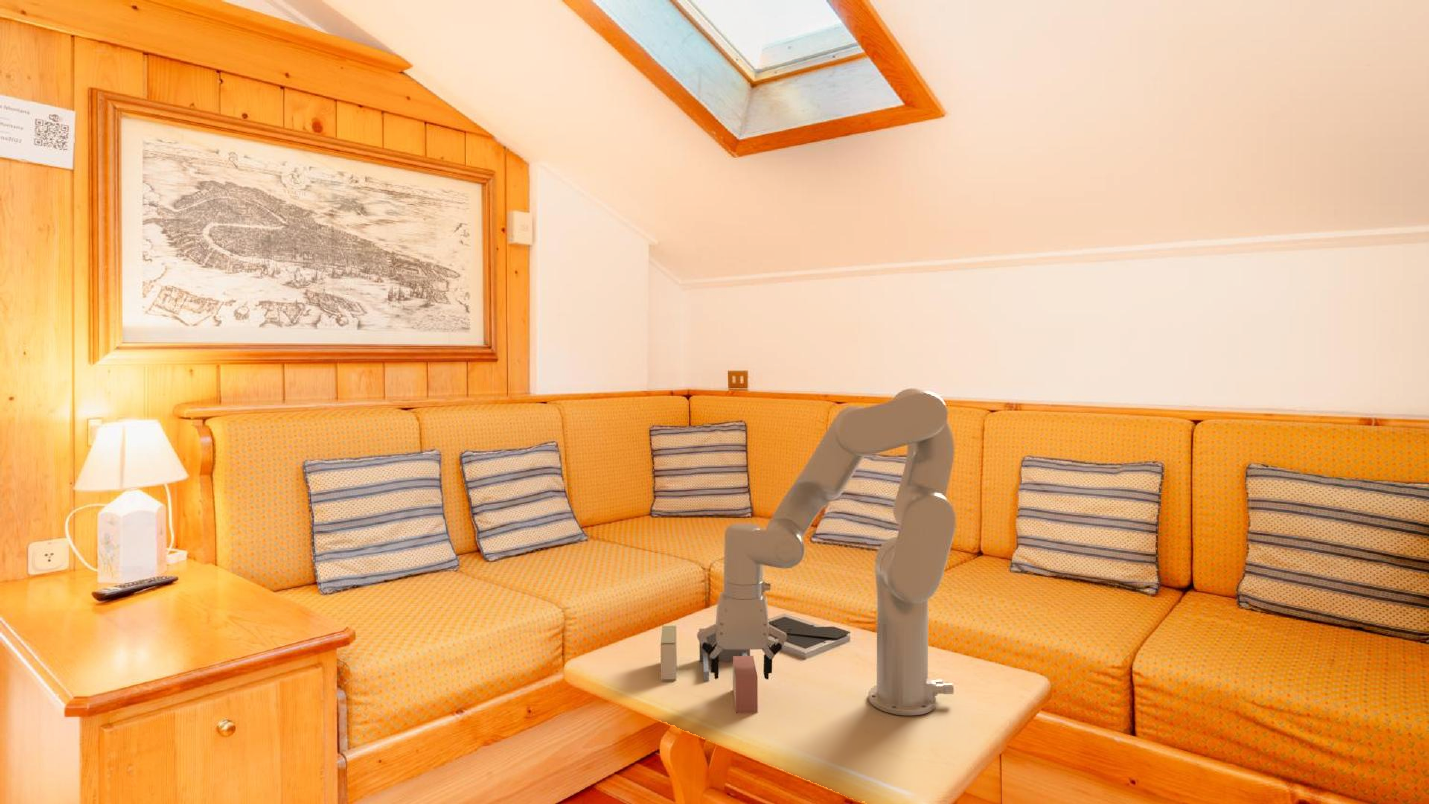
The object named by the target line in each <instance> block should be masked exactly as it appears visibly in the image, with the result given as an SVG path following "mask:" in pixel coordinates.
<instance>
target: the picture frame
mask: <svg viewBox="0 0 1429 804" xmlns="http://www.w3.org/2000/svg"><path fill="white" fill-rule="evenodd" d="M768 620H769V624H770V625H771V626H773V627H775V628H777V629H779V630H781V631H783V632H785V633H786V634H787V639H786V641H785V643H784V645H783V646H782V649H781V650H780V651H782V652H784V653H788V654H790V655H793V656H796V657H799V658H801V659H804V660H807V659H809V658H812V657H815V656H817V655H820V654H822V653H825V652H827V651H830V650H832V649H834V648H837V647H840V646H841V645H845V644H846V643H850V642H851V631H850V630H845V629H842V628H839V627H836V626H832V625H831V626H824V625H822V624H821V625H820V624H817V623H815V622H812V621H808V620H805V619H803V618H800V617H797V616H796V617H795V616H793V615H790V614H786V613H783V614H780V615H777V616H774V617H771V618H768ZM777 639H778V637H776V636H774V635H772V634H770V633H769V643H768V644H769V646H770V647H771V646H772V645H773V644H774V643H775V642H776V641H777Z"/></svg>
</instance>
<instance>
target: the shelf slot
mask: <svg viewBox="0 0 1429 804" xmlns="http://www.w3.org/2000/svg"><path fill="white" fill-rule="evenodd" d="M706 628H707V627H706ZM706 628H699V631H698V632H700V631H702V630H704V629H706ZM706 640H707V642H708V643H709V644H710V645H711V646H713V645H714V644H715V642H716V637H715V633H714V634H712V635H710V636H708V637H706ZM698 647H699V663H702V665H703V670H702V671H703V681H704V682H710V674H709V673H710V672H709V671H710V670H709V668H710V667H709V663H711V657H710V655H709V654H708V653H707V652H706V651H705V650H704V649H703V648H702V646H701V644H700V642H699V646H698ZM718 656H719V663H725V662H733V656H751V650H744V649H723V650H722V651H721V652H720V653H719V654H718Z"/></svg>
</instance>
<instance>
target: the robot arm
mask: <svg viewBox="0 0 1429 804" xmlns="http://www.w3.org/2000/svg"><path fill="white" fill-rule="evenodd" d="M948 415H949V413H948V408H947V405H946V403H945V401H944V400H943V399H942V398H941V396H939V395H938V394H936V393H934V392H931V391H929V390H926V389H925V390H923V389H922V388H911V387H910V388H905V389H903V390H901V391H900V392H898V393H897V394H896V395H895V396H894V397H893V399H892V400H889V401H885V402H882V403H877V404H874V405H870V406H867V407H866V406H865V407H862V406H860V405H859V406H857V405H855V406H854V405H852V406H847V407H845V408H843V409H841V410H840V411H839V412H838V413H837V414H836V416H835V417H834V419H833V420H832V422H831V424H830V425H829V427H828V429H827V430H826V432H825V433H824V435H823V436H822V438H821V440H820V442H819V443H818V445H817V446H816V448H815V450H814V452H813V453H812V455H811V457H810V458H809V459H808V462H807V463H806V464H805V465H804V468H803V469H802V471H801V472H800V474H799V475H798V476H797V478H796V479H795V480H794V482H793V484H792V486H791V487H790V488H789V490H788V491H787V493H786V494H785V496H784V497H783V498H782V500H781V502H780V503H779V505H778V507H777V508H776V510H775V512H774V513H773V515H772V516H771V518H770V519H769V522H768V523H767V525H766V527H765V529H763V528H762V527H761V526H759V525H758V524H755V523H747V522H742V523H741V522H739V523H738V522H737V523H733V524H730V525H728V526H727V527H726V528H725V531H724V546H723V547H724V548H723V549H724V551H723V552H724V556H723V557H724V558H723V592H720V593H719V594H718V595H719V596H718V599H717V600H718V601H717V606H716V615H715V616H716V617H715V623H714V624H712V625H709V626H707V627H706V629H705V628H703V629H704V630H702V631H700V632H699V631H697V633H696V637H697V640H698V641H699V642H700V644H701V646H702V648H703V649H704V650H705V651H706V652H707V653H708V654H709V655H710V657H711V662H710V673H711V674H713V675H714V679H715V680H718V679H719V669H720V667H719V666H720V665H719V664H720V662H719V656H718V654H719V653H720V652H721V651H722V650H723V649H744V650H750V651H751V650H753V651H754V650H761V651H762V652H763V653H764V654H763V677H764V679H765V680H769V677H770V676H769V674H773V659H774V658H775V656H776V655H777V654H778V653H779V652H780V651H782V650H781V649H782V646H783V645H784V643H785V641H786V639H787V634H786V633H785V632H783V631H781V630H779V629H777V628H775V627H773V626H771V625H770V624H769V620H768V619H769V610H768V600H767V595H766V593H765V592H767V591H771V583H770V582H768V583H767V582H765V581H764V566H766V567H770V568H771V567H772V568H777V569H785V570H786V569H792V568H795V567H797V566H798V565H800V563H801V562H802V561H803V560H804V557H805V554H806V544H805V542H804V541H805V540H804V537H805V535H807V532H808V530H809V528H810V527H811V525H812V523H813V522H814V520H815V519H816V518H817V516H818V515H819V514H820V512H821V511H822V510H823V509H824V508H825V507H826V506H827V505H828V504H830V503H831V502H833V501H835V500H837V498H839V497H840V496H841V495H842V494H843V493H844V491H845V489H846V488H847V486H848V484H849V482H851V480H852V478H853V476H854V475H855V472H857V469H858V468H859V466H860V464H861V463H862V461H863V460H864V458H865V457H866V456H871V455H874V454H875V455H876V454H880V453H884V452H888V451H892V450H894V449H895V450H896V449H897V448H901V447H905V446H907V451H906V458H905V462H904V468H903V471H902V475H901V479H900V481H899V487H898V488H897V489H898V491H897V493H896V496H895V499H894V502H893V506H892V507H893V510H892V511H893V512H892V513H893V517H894V519H895V521H896V522H897V524H898V525H899V527H898V528H899V529H898V533H897V536H894V537H891V538H888V539H887V540H885V541H884V542H883V543H882V544H881V545H880V546H879V548H878V549H877V552H876V556H875V561H874V572H875V575H874V576H875V586H876V612H877V613H876V685H874V686H873V687H871V688H870V689H869V691H868V701H869V702H870V704H871V705H873V707H874V708H876V709H878V710H880V711H882V712H885V713H889V714H892V715H898V716H912V717H913V716H919V715H924V714H928V713H930V712H931V711H933V710H934V709H935V708H936V706H937V698H936V697H937V696H938V695H939V694H940V695H941V694H942V695H954V685H953V683H950V682H949V683H943V680H942V679H930V678H929V675H928V674H929V599H931V598H932V597H933V596H934V595H935V594H936V592H937V591H938V589H939V587H940V585H941V582H942V580H943V576H944V573H945V569H946V566H947V562H948V559H949V555H950V552H951V548H952V543H953V542H954V541H953V540H954V537H955V532H956V525H957V523H956V521H957V519H956V518H957V517H956V512H955V509H954V507H953V505H952V503H951V502H950V501H949V499H948V498H947V493H948V492H947V491H948V487H949V483H950V479H951V474H952V469H953V465H954V458H955V441H954V436H953V432H952V430H951V425H950V423H949V422H948V418H949V417H948ZM714 633H715V637H716V642H715V644H714V645H713V646H711V645H710V644H709V643H708V642H707V640H706V637H708V636H710V635H712V634H714ZM769 633H770V634H772V635H774V636H776V637H778V639H777V641H776V642H775V643H774V644H773V645H772V646H769V644H768V643H769Z"/></svg>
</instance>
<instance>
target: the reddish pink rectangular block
mask: <svg viewBox="0 0 1429 804" xmlns="http://www.w3.org/2000/svg"><path fill="white" fill-rule="evenodd" d="M758 680H759V679H758V672H757V667H756V663H755V659H754V655H750V656H733V661H732V692H733V699H734V705H735V706H734V707H735V713H736V714H751V713H752V714H753V713H755V714H758V712H759V711H758V710H759V709H758V702H759V701H758V699H759V698H758V695H759V693H758V689H759V688H758V682H759V681H758Z"/></svg>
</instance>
